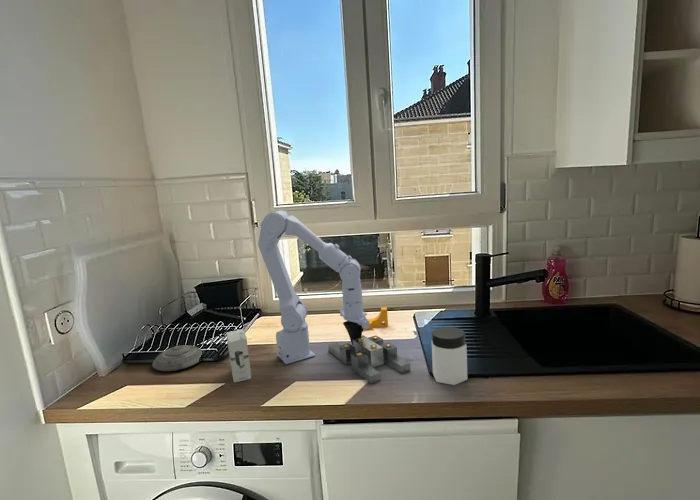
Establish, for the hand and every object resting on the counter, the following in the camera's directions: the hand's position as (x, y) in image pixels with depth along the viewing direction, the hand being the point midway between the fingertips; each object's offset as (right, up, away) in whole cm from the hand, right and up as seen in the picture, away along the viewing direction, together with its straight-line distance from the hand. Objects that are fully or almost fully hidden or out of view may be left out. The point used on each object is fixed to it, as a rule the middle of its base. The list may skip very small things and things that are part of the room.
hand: (355, 344), depth 125 cm
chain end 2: (+7, -4, -11) cm, 14 cm away
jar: (+24, -4, -18) cm, 30 cm away
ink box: (-32, -7, -8) cm, 34 cm away
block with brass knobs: (+3, -3, -5) cm, 7 cm away
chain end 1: (0, -3, +1) cm, 3 cm away
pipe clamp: (+5, +1, +21) cm, 21 cm away
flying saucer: (-54, -7, +3) cm, 55 cm away
